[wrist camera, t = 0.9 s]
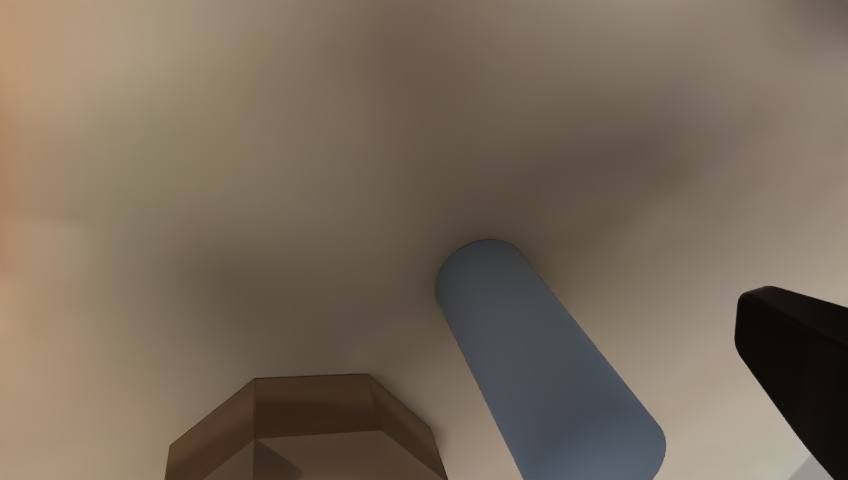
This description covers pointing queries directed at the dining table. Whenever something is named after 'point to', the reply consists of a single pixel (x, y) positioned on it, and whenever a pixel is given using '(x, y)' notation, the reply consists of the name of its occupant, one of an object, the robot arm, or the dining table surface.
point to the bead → (308, 435)
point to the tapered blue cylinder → (543, 373)
